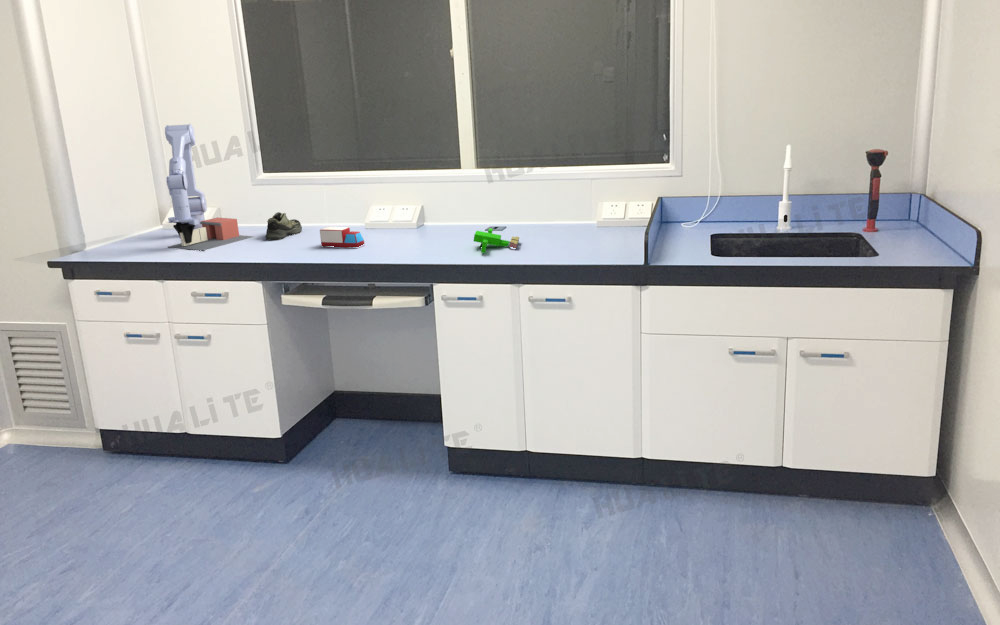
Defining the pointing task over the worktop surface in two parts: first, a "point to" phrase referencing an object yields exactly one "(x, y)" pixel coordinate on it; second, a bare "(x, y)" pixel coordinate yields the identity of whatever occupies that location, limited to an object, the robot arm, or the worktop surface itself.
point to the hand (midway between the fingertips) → (187, 242)
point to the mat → (209, 243)
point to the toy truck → (340, 237)
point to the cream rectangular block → (195, 236)
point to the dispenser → (221, 228)
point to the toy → (493, 240)
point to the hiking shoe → (281, 227)
